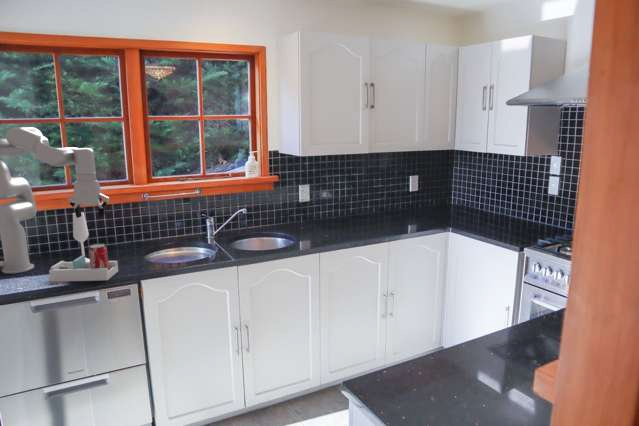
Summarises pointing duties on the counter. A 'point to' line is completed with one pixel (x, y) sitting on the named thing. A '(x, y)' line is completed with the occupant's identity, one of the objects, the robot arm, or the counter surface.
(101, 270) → the light grey tray
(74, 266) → the pusher plate
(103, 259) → the soda can
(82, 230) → the champagne flute
